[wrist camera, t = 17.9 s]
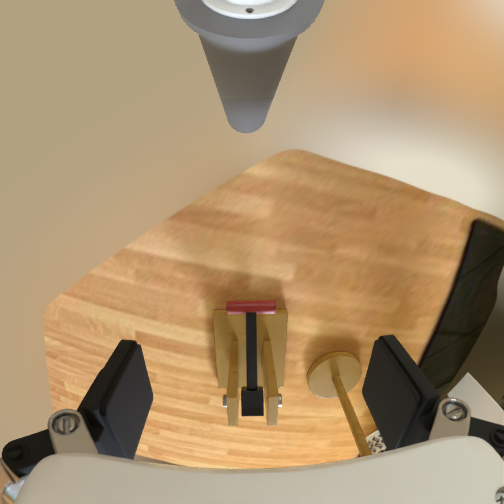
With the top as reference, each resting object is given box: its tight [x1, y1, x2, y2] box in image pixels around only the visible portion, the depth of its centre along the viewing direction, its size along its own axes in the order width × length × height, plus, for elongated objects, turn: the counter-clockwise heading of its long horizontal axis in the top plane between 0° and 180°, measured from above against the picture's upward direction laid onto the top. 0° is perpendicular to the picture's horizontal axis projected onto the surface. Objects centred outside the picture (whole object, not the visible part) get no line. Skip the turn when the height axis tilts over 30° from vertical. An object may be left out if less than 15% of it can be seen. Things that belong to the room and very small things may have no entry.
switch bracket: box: [213, 309, 288, 426], centre depth 32 cm, size 12×9×12 cm
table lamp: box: [307, 351, 372, 457], centre depth 27 cm, size 10×10×25 cm
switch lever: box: [226, 300, 276, 416], centre depth 29 cm, size 12×5×2 cm, turn 0°
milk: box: [448, 372, 504, 426], centre depth 32 cm, size 6×6×22 cm
